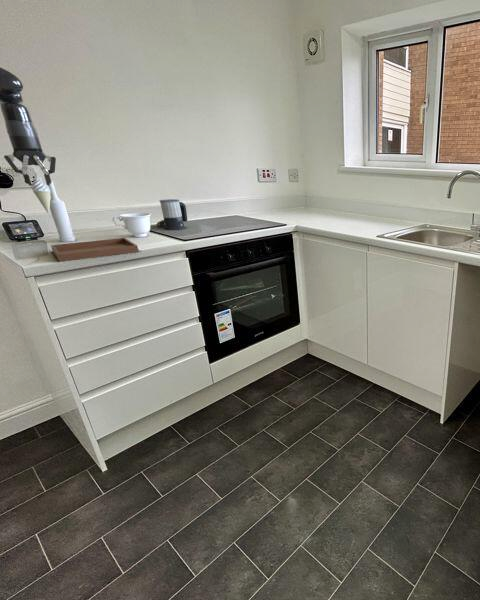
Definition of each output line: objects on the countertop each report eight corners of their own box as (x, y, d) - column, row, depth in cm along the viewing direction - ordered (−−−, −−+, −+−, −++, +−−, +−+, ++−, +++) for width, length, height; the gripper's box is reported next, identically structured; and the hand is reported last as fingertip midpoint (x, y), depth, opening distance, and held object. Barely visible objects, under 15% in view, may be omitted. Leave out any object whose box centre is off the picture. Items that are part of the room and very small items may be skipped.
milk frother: (180, 230, 185) (174, 201, 179) (148, 229, 183) (141, 200, 177) (191, 225, 198) (186, 198, 193) (161, 225, 196) (155, 197, 190)
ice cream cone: (39, 212, 136) (27, 171, 130) (57, 211, 139) (45, 171, 134) (38, 213, 132) (25, 171, 127) (57, 213, 135) (44, 172, 130)
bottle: (76, 239, 158) (58, 180, 148) (75, 241, 154) (57, 181, 145) (60, 240, 154) (41, 180, 145) (59, 242, 151) (40, 181, 142)
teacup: (116, 235, 167) (110, 214, 163) (153, 232, 176) (148, 212, 172) (118, 240, 158) (112, 217, 155) (157, 236, 168) (152, 215, 164)
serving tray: (59, 261, 124) (57, 254, 123) (52, 251, 136) (50, 245, 135) (138, 251, 141) (137, 245, 140) (126, 243, 153) (125, 237, 152)
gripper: (49, 137, 133) (63, 184, 139) (-7, 133, 123) (11, 184, 129) (51, 136, 128) (66, 185, 134) (-6, 133, 118) (12, 186, 124)
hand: (39, 184), depth 132 cm, fingers closed on ice cream cone, 4 cm apart
